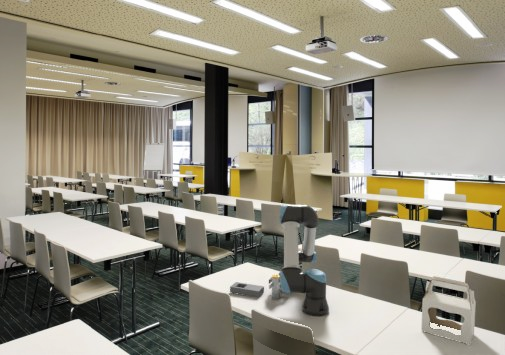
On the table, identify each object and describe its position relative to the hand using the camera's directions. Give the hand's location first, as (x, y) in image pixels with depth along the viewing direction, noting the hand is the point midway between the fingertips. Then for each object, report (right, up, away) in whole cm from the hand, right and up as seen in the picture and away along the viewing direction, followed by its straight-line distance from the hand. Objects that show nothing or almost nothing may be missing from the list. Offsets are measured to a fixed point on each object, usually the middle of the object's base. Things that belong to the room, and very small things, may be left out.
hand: (273, 287), depth 230 cm
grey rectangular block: (-16, -7, +13) cm, 22 cm away
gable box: (+86, -12, -39) cm, 95 cm away
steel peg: (+2, -8, +6) cm, 10 cm away
